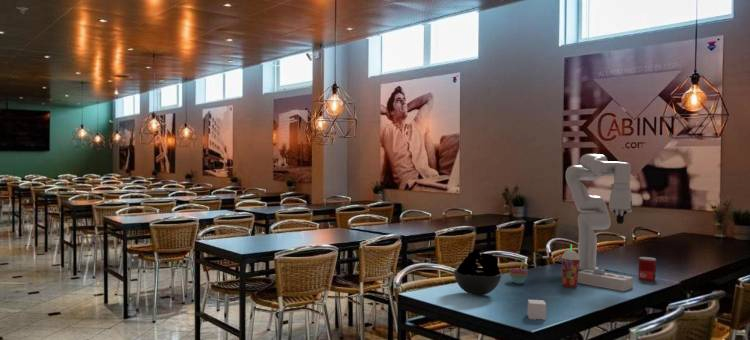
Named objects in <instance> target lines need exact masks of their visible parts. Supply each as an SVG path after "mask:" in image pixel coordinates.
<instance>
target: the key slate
mask: <svg viewBox="0 0 750 340" xmlns="http://www.w3.org/2000/svg"><path fill="white" fill-rule="evenodd" d="M605 273H606V269H601V268H599V269H594V270H593V274H597V275H604V274H605Z"/></svg>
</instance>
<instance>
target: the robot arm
mask: <svg viewBox="0 0 750 340" xmlns="http://www.w3.org/2000/svg"><path fill="white" fill-rule="evenodd" d="M631 169H632V165H631V163H630V162H624V161H623V162H622V161H608V157H606V156H605V155H604V154H600V153H599V154H597V153H585V154H583V155H582V156H581V157H580V158H579V164H578V165H577V164H576V165H570V166H568V167H567V169H566V171H565V181H566V184H567V186H568V188H569V189H570V192H571V195H572V197H573V201H574V204H575V207H576V210H577V211H578V212H579V215H578V216H577V226H578V244H577V245H578V246H577V249H578V251H577V254H578V255H579V258H580V262H579V271H583V270H592V271H593V270H594V269H600V268H599V267H598V266H597V253H598V252H597V251H598V250H597V247H598V246H597V245H598V237H597V234H596V233H595V231H594V230H598V231H599V230H602V231H603V230H604V231H605V230H608V229H609V228H610V227H611V224H612V221H611V220H612V219H611V216H610V213H609V211H610V212H613V214H615V216H616V220H615V221H616V224H617V225H618V224H620V225H621V224H624V221H625V216H626V215H627V214H628V213H632V212H633V210H632V209H633V195H632V190H631ZM599 177H613V183H612V184H610V187H611V188H612V189H611V191H610V193H609V194H610V195H609V201H608V206H607V204H606V201H605V199H604V198H603V197H601V196H599V195H590V193H589V191H588V189H587V186H586V185H585V184H584V183H583V182H582V181H596V180H597V179H598V178H599ZM608 208H609V209H608Z"/></svg>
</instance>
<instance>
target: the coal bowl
mask: <svg viewBox="0 0 750 340" xmlns="http://www.w3.org/2000/svg"><path fill="white" fill-rule="evenodd" d="M480 252H481V250H480V249H475V250H473V251H470V252H469V253H468V254H467V256H465V258H464V260H462V262H461V263H460V265H458V267H457V268H455V269H454V271H453V273H454V278H455V281H456V282H457V285H458V287H460V289H462V290H463V291H464V292H466V293H467V294H469V295H472V296H477V297H478V296H485V295H488V294H490V293H491V292H493V291H494V290H495V289H497V287H498V285H499V283H500V281H501V277H502V273H501V271H500V268H499V265H498V262H499V260H498V258H497V257H496V256H494V255H493V254H492V253H484V252H482V253H480ZM477 261H478V263H479V264H480V266H481V267H479V266H478V264H477Z"/></svg>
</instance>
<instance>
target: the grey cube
mask: <svg viewBox="0 0 750 340" xmlns="http://www.w3.org/2000/svg"><path fill="white" fill-rule="evenodd" d="M526 311H527V313H526V315H527V317H528V319H529V320H536V319H543V320H542V321H546V319H547V303H546V302H545V300H540V299H527V309H526Z"/></svg>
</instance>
